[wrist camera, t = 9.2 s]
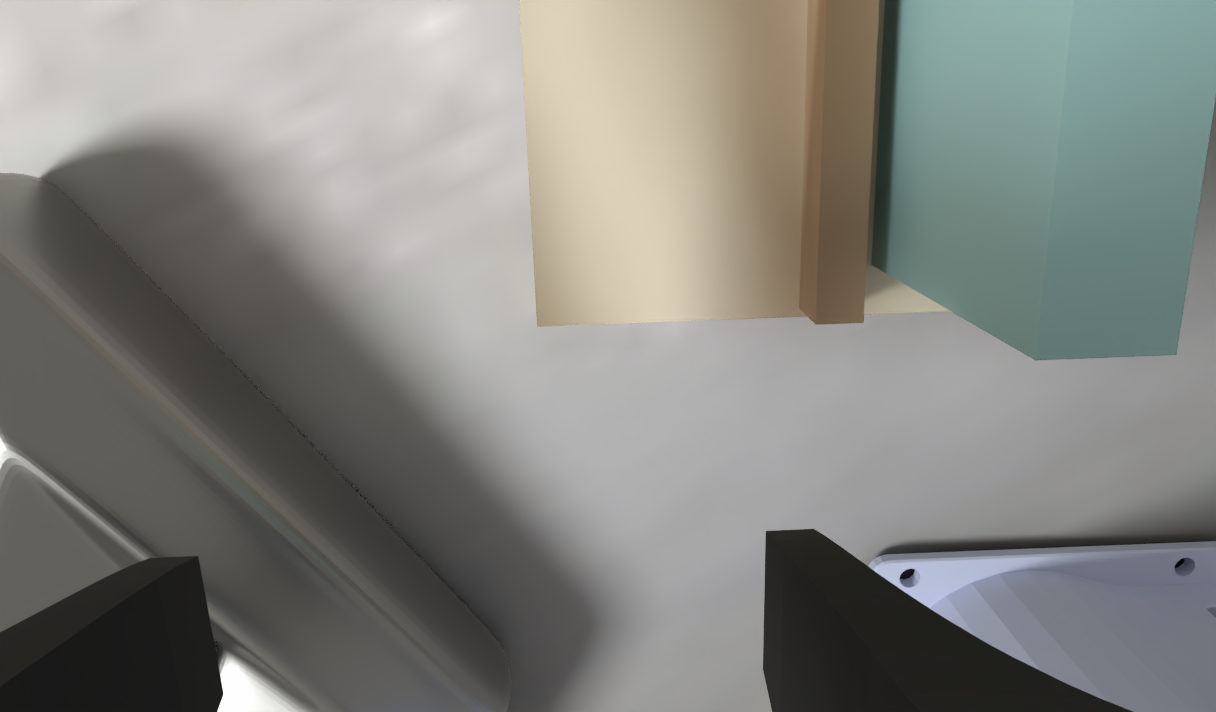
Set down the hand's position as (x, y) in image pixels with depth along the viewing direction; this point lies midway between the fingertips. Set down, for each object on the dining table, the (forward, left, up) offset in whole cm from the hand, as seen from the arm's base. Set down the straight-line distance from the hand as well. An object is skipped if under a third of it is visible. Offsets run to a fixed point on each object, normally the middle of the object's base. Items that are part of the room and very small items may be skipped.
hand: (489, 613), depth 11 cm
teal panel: (-9, -6, -9) cm, 14 cm away
